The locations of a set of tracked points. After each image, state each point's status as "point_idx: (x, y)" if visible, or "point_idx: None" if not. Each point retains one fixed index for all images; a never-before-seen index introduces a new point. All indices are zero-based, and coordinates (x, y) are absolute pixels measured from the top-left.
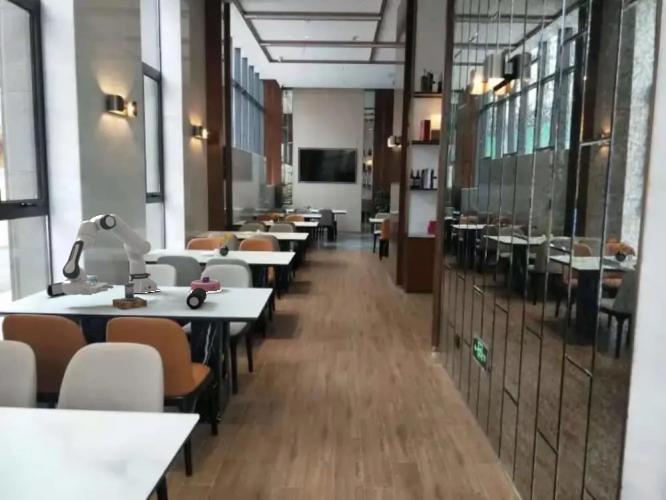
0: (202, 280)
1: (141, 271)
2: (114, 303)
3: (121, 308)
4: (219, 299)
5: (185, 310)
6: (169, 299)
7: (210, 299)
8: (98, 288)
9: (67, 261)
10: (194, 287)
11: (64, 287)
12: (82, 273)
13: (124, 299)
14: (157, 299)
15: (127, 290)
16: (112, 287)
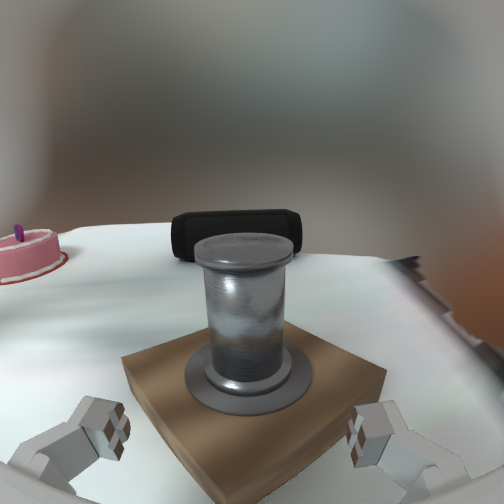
0: (21, 234)
1: None
2: (271, 480)
3: (375, 401)
4: (158, 245)
5: (313, 262)
6: (103, 305)
7: (151, 252)
8: (472, 486)
9: None
10: (29, 258)
11: None
12: None
13: (281, 383)
14: (80, 331)
15: (284, 299)
16: (125, 417)
